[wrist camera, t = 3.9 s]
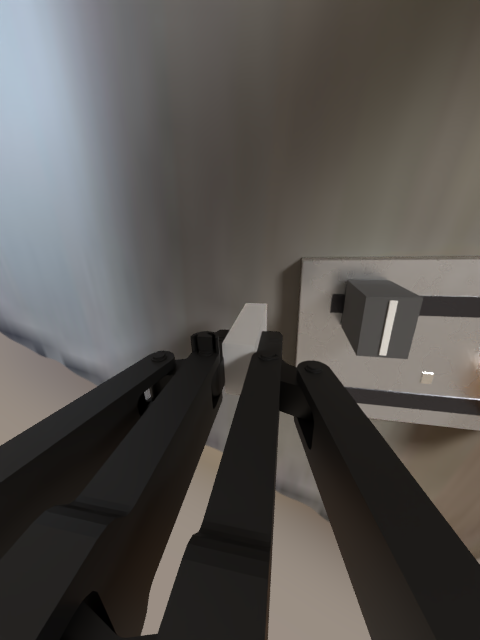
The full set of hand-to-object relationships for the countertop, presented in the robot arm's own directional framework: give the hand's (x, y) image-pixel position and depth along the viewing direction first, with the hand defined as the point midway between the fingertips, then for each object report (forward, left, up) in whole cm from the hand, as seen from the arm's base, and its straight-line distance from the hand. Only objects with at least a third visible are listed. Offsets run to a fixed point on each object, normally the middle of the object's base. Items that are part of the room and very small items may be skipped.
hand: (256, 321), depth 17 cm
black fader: (0, +8, -4) cm, 9 cm away
